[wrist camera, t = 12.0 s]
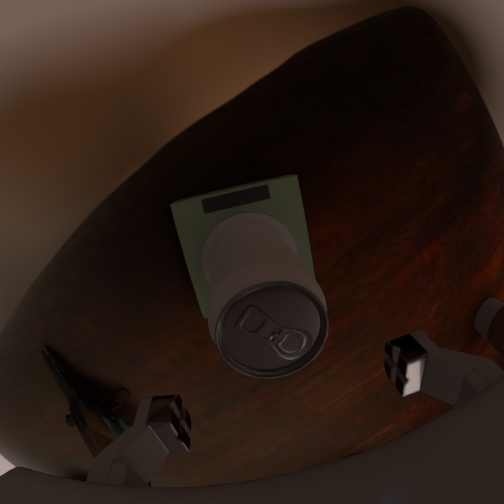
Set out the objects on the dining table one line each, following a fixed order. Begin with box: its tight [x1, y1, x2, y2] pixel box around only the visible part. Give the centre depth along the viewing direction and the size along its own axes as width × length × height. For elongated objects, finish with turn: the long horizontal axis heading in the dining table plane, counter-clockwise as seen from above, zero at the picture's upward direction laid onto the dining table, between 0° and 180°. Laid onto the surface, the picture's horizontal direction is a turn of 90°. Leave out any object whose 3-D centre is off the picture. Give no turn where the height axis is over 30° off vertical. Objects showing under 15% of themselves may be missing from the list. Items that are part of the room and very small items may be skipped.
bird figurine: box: [41, 348, 151, 487], centre depth 26 cm, size 13×10×20 cm
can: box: [208, 225, 329, 379], centre depth 20 cm, size 6×6×12 cm
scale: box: [170, 174, 315, 319], centre depth 27 cm, size 11×11×3 cm
